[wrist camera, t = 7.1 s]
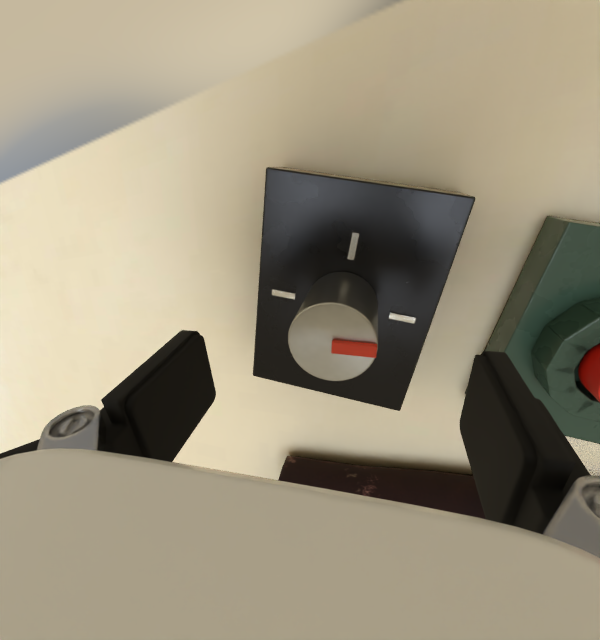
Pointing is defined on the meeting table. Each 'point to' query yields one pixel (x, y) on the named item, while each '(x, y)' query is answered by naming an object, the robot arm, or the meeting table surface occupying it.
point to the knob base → (355, 269)
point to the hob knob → (336, 328)
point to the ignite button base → (557, 322)
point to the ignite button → (591, 371)
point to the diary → (389, 484)
